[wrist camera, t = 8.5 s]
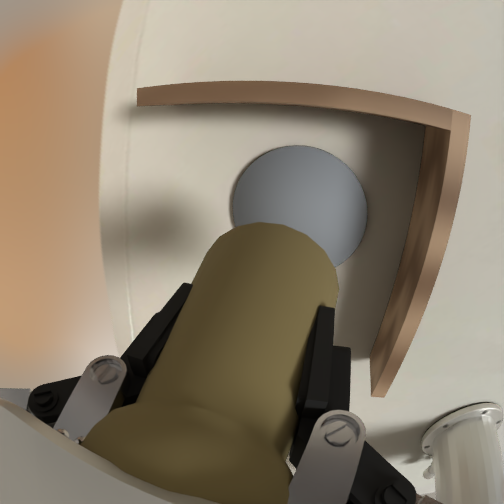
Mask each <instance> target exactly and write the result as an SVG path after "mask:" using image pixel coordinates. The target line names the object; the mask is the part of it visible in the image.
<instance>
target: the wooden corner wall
mask: <svg viewBox="0 0 504 504" xmlns="http://www.w3.org/2000/svg"><path fill="white" fill-rule="evenodd" d="M205 103H251V104H276V105H292V106H305V107H315V108H325V109H334V110H342V111H349V112H356V113H363V114H369V115H375V116H381V117H386V118H392V119H397V120H402V121H407V122H411V123H416V124H420V125H424V126H425V136H424V144H423V152H422V159H421V166H420V173H419V179H418V185H417V190H416V196H415V201H414V206H413V211H412V216H411V221H410V225H409V230H408V234H407V238H406V242H405V246H404V250H403V254H402V258H401V262H400V266H399V269H398V273H397V276H396V280H395V283H394V287H393V290H392V293H391V296H390V300H389V303H388V306H387V309H386V312H385V315H384V318H383V321H382V324H381V327H380V330H379V332H378V335H377V338H376V341H375V343H374V346H373V349H372V351H371V354H370V376H371V397H385V395H386V393H387V391H388V389H389V388H390V386H391V384H392V382H393V380H394V378H395V376H396V374H397V372H398V370H399V368H400V366H401V364H402V362H403V360H404V358H405V355H406V353H407V351H408V349H409V347H410V345H411V342H412V340H413V338H414V335H415V333H416V331H417V328H418V326H419V324H420V321H421V319H422V316H423V314H424V311H425V309H426V306H427V303H428V301H429V298H430V295H431V293H432V290H433V287H434V284H435V281H436V278H437V275H438V272H439V269H440V266H441V263H442V260H443V257H444V253H445V250H446V246H447V243H448V239H449V236H450V232H451V228H452V224H453V220H454V216H455V212H456V208H457V203H458V198H459V194H460V189H461V184H462V178H463V173H464V167H465V160H466V154H467V147H468V139H469V130H470V120H471V115H469V114H466V113H462V112H459V111H456V110H452V109H449V108H445V107H442V106H438V105H434V104H430V103H426V102H422V101H418V100H414V99H409V98H405V97H400V96H395V95H390V94H385V93H379V92H373V91H367V90H361V89H354V88H347V87H339V86H330V85H321V84H309V83H296V82H277V81H214V82H195V83H181V84H170V85H161V86H152V87H144V88H137V106H154V105H180V104H205Z"/></svg>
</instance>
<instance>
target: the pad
mask: <svg viewBox="0 0 504 504" xmlns="http://www.w3.org/2000/svg"><path fill="white" fill-rule="evenodd" d="M233 217H234V223H235V226H236V227H237V226H241V225H246V224H251V223H256V222H265V223H274V224H283V225H286V226H288V227H290V228H293V229H295V230H297V231H300V232H302V233H304V234H306V235H308V236H309V237H310V238H311V239H312V240H313V241H314V242H316V243H317V244H318V245H319V246H320V247H321V248H323V249H324V250H325V252H326V254H327V255H328V257H329V259H330V260H331V262H332V264H333V266H334V267H336V266H338V265H340V264H341V263H343V262H344V261H345V260H346V259H347V258H349V257H350V256H351V255H352V253H353V252H354V251H355V250H356V248H357V247H358V245H359V243H360V242H361V240H362V237H363V235H364V232H365V228H366V224H367V203H366V198H365V195H364V192H363V189H362V187H361V185H360V183H359V181H358V179H357V177H356V176H355V174H354V173H353V172H352V171H351V170H350V168H349V167H348V166H347V165H346V164H345V163H343V162H342V161H341V160H340V159H338V158H337V157H335V156H334V155H332V154H330V153H328V152H326V151H324V150H321V149H318V148H314V147H309V146H286V147H282V148H278V149H275V150H273V151H270V152H268V153H266V154H264V155H263V156H261V157H259V158H258V159H257V160H256V161H254V162H253V163H252V164H251V165H250V166H249V167H248V168H247V169H246V171H245V172H244V173H243V175H242V176H241V178H240V180H239V182H238V184H237V187H236V190H235V193H234V198H233Z"/></svg>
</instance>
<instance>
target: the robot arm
mask: <svg viewBox="0 0 504 504" xmlns="http://www.w3.org/2000/svg"><path fill="white" fill-rule="evenodd" d="M192 287H193V284H189V283H183V284H182V285H181V286H180V288H179V289H178V290H177V291H176V292H175V294H174V295H173V296H172V297H171V299H170V300H169V301H168V302H167V304H166V305H165V306H164V307H163V309H162V310H161V311H160V312H158V313H156V314H155V315H154V316H153V317H152V318H151V320H150V321H149V322H148V323H147V325H146V326H145V327H144V328H143V330H142V331H141V332H140V333H139V335H138V336H137V337H136V338H135V340H134V341H133V342H132V343H131V345H130V346H129V347H128V349H127V350H126V351H125V352H124V354H123V355H122V356H121V357H120V358H119V357H116V356H111V355H106V356H101V357H98V358H96V359H94V360H93V361H92V362H90V364H89V365H88V366H87V367H86V369H85V371H84V373H83V374H82V376H78V377H74V378H70V379H65V380H61V381H57V382H52V383H48V384H43V385H41V386H38V387H37V388H35V389H34V390H33V391H31V389H12V388H10V389H9V388H0V504H220V503H216V502H213V501H209V500H206V499H202V498H199V497H194V496H188V495H184V494H179V493H175V492H170V491H167V490H164V489H162V488H159V487H157V486H154V485H152V484H150V483H147V482H145V481H143V480H140V479H138V478H136V477H134V476H132V475H129V474H127V473H125V472H124V471H122V470H121V469H119V468H118V467H117V466H115V465H114V464H113V463H111V462H110V461H108V460H106V459H104V458H102V457H101V456H99V455H97V454H95V453H93V452H91V451H89V450H88V449H86V448H84V447H82V446H81V445H80V444H81V443H82V441H83V440H84V439H85V437H86V436H87V434H88V433H89V431H90V430H91V429H92V428H93V426H94V425H95V424H96V423H98V422H99V421H100V420H101V419H103V418H104V417H105V416H106V415H108V414H109V413H110V412H111V411H113V410H114V409H117V408H120V407H124V406H127V405H131V404H134V403H136V401H137V398H138V396H139V394H140V392H141V389H142V387H143V385H144V383H145V380H146V378H147V376H148V374H149V372H150V371H151V370H152V369H153V367H154V366H155V364H156V362H157V360H158V358H159V356H160V354H161V352H162V350H163V348H164V346H165V344H166V342H167V340H168V338H169V335H170V333H171V331H172V329H173V326H174V324H175V322H176V320H177V318H178V315H179V313H180V311H181V309H182V307H183V305H184V303H185V301H186V300H187V298H188V295H189V293H190V291H191V289H192ZM334 316H335V308H333V307H326V306H319V312H318V315H317V317H316V320H315V322H314V325H313V327H312V330H311V332H310V335H309V337H308V342H307V348H306V354H305V360H304V365H303V371H302V376H301V381H300V386H299V392H298V397H297V401H296V406H295V409H296V412H297V415H298V418H299V421H300V422H299V425H298V429H297V432H296V435H295V438H294V441H293V443H292V446H291V449H290V454H289V456H290V459H289V461H290V462H291V463H292V464H293V466H294V467H295V468H296V472H295V474H294V476H293V479H292V481H291V483H290V485H289V487H288V488H289V498H288V503H287V504H504V463H503V458H502V453H501V448H500V443H499V439H498V435H497V430H498V428H499V427H500V425H501V424H502V421H503V419H504V414H503V411H502V408H501V407H500V406H499V405H497V404H493V403H482V404H476V405H472V406H468V407H466V408H463V409H460V410H458V411H456V412H454V413H451V414H450V415H448V416H446V417H444V418H443V419H441V420H439V421H438V422H436V423H435V424H434V425H433V426H431V427H430V428H429V429H428V430H427V431H426V433H425V434H424V436H423V438H422V440H421V443H422V450H423V451H424V453H426V454H428V455H431V456H432V457H433V461H432V463H431V466H429V467H428V468H427V469H426V470H425V471H424V472H423V476H424V478H426V479H430V478H432V477H433V476H434V475H435V490H436V500H435V499H433V498H431V497H429V496H427V495H425V496H423V497H422V496H421V495H419V494H417V493H416V491H415V488H414V486H413V485H412V484H411V483H410V481H408V480H407V479H406V478H405V477H404V476H403V475H402V474H401V473H399V472H398V471H397V470H396V469H395V468H394V467H393V466H392V465H391V464H390V463H388V462H387V461H386V460H385V459H384V458H383V457H382V456H381V455H380V454H379V453H378V452H377V451H376V450H374V449H373V448H372V447H371V446H370V445H369V444H368V443H367V442H366V441H365V437H366V429H365V426H364V423H363V422H362V420H361V419H360V418H359V417H358V416H356V415H355V414H354V413H351V412H349V404H350V375H351V349H350V348H348V347H340V346H333V335H334Z"/></svg>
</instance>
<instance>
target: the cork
mask: <svg viewBox="0 0 504 504" xmlns="http://www.w3.org/2000/svg"><path fill="white" fill-rule="evenodd" d="M191 284H193V287H192V289H191V291H190V293H189V295H188V298H187V300H186V301H185V303H184V305H183V307H182V309H181V311H180V313H179V315H178V318H177V320H176V322H175V324H174V326H173V329H172V331H171V333H170V335H169V338H168V340H167V342H166V344H165V346H164V348H163V350H162V352H161V354H160V356H159V358H158V360H157V362H156V364H155V366H154V367H153V369H152V370H151V371H150V372H149V374H148V376H147V378H146V380H145V383H144V385H143V387H142V389H141V392H140V394H139V396H138V398H137V401H136V403H134V404H131V405H127V406H124V407H120V408H117V409H114V410H113V411H111V412H110V413H109V414H108V415H106V416H105V417H104V418H103V419H101V420H100V421H99V422H98V423H96V424H95V425H94V426H93V428H92V429H91V430H90V431H89V433H88V434H87V436H86V437H85V439H84V440H83V441H82V443H81V444H80V445H81V446H82V447H84V448H86V449H88V450H89V451H91V452H93V453H95V454H97V455H99V456H101V457H102V458H104V459H106V460H108V461H110V462H111V463H113V464H114V465H115V466H117V467H118V468H119V469H121V470H122V471H124V472H125V473H127V474H129V475H132V476H134V477H136V478H138V479H140V480H143V481H145V482H147V483H150V484H152V485H154V486H157V487H159V488H162V489H164V490H167V491H170V492H175V493H179V494H184V495H188V496H194V497H199V498H202V499H206V500H209V501H213V502H216V503H220V504H287V503H288V498H289V488H288V487H289V485H290V483H291V481H292V479H293V474H292V472H291V471H290V469H289V467H288V465H287V463H286V462H285V461H286V459H287V456H288V454H289V451H290V449H291V446H292V443H293V441H294V438H295V435H296V432H297V429H298V425H299V422H300V421H299V418H298V415H297V412H296V409H295V406H296V401H297V397H298V392H299V386H300V381H301V376H302V371H303V365H304V360H305V354H306V348H307V342H308V337H309V335H310V332H311V330H312V327H313V325H314V322H315V320H316V317H317V315H318V312H319V306H326V307H333V308H335V307H336V302H337V297H338V292H339V285H338V280H337V274H336V269H335V267H334V266H333V264H332V262H331V260H330V259H329V257H328V255H327V254H326V252H325V250H324V249H323V248H321V247H320V246H319V245H318V244H317V243H316V242H314V241H313V240H312V239H311V238H310V237H309V236H308V235H306V234H304V233H302V232H300V231H297V230H295V229H293V228H290V227H288V226H286V225H283V224H274V223H265V222H256V223H251V224H246V225H241V226H237V227H235V228H233V229H232V230H230V231H228V232H227V233H225V234H223V235H222V236H220V237H219V238H218V239H217V240H216V242H215V243H214V244H213V245H212V247H211V248H210V249H209V251H208V252H207V254H206V256H205V258H204V260H203V262H202V264H201V266H200V268H199V269H198V271H197V273H196V275H195V277H194V279H193V281H192V283H191Z"/></svg>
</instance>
